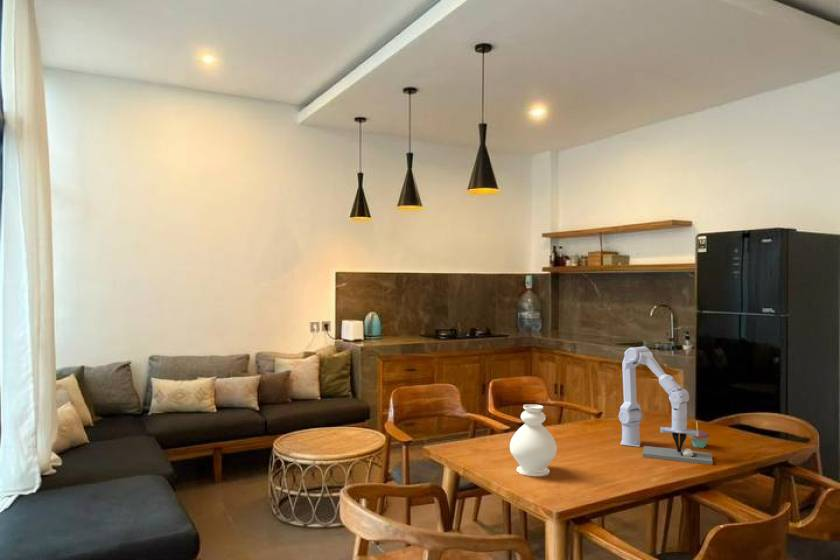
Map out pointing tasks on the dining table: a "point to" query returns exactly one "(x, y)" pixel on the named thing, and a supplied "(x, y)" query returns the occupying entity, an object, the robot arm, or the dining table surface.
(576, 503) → the dining table surface
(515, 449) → the decorative vase
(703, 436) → the cupcake
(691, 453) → the ball
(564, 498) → the dining table surface
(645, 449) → the board
